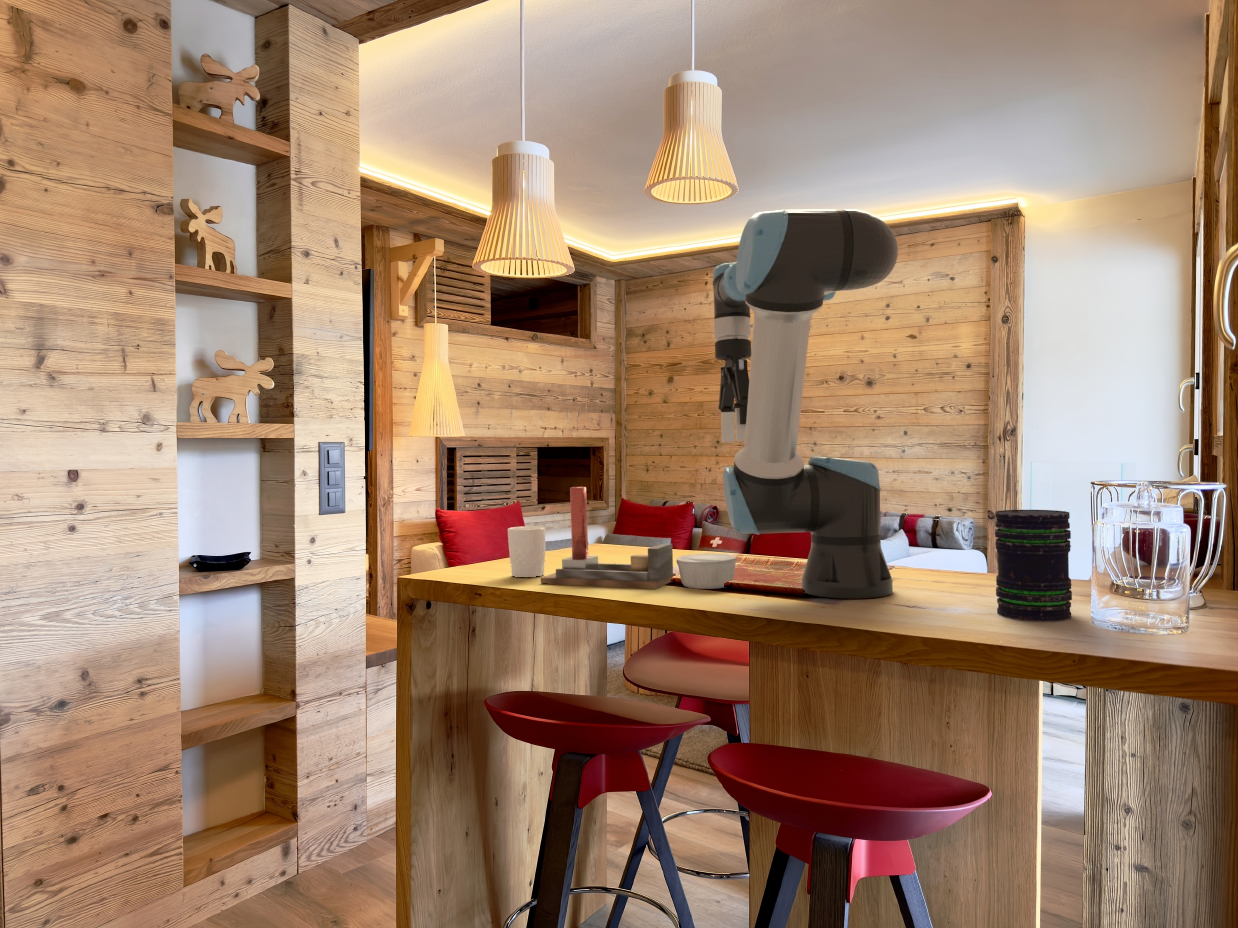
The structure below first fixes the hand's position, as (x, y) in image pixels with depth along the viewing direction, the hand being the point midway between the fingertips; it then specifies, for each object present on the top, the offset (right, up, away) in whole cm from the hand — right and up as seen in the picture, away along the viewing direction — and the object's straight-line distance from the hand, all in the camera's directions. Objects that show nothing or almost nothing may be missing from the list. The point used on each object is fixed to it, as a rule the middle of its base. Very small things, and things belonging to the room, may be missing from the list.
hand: (735, 441), depth 168 cm
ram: (-32, -26, -9) cm, 42 cm away
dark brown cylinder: (+36, -27, -51) cm, 68 cm away
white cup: (-43, -28, 0) cm, 52 cm away
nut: (-20, -26, -14) cm, 36 cm away
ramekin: (-8, -28, -17) cm, 33 cm away
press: (-26, -28, -11) cm, 40 cm away
